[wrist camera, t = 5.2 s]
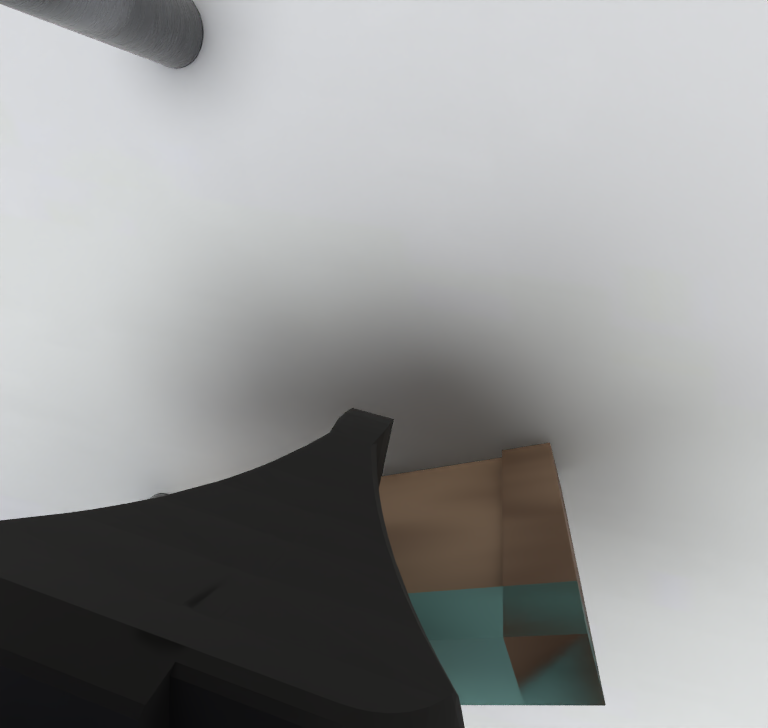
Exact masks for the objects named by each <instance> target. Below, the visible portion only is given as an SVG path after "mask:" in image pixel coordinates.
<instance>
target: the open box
mask: <svg viewBox="0 0 768 728" xmlns="http://www.w3.org/2000/svg"><path fill="white" fill-rule="evenodd" d="M379 495H380V501H381V507H382V512H383V517H384V522H385V526H386V530H387V534H388V538H389V541H390V544H391V548H392V551H393V555H394V558H395V561H396V564H397V566H398V569H399V571H400V574H401V577H402V579H403V582H404V585H405V587H406V590H407V593H408V595H409V598H410V600H411V603H412V605H413V607H414V610H415V612H416V614H417V616H418V618H419V621H420V623H421V625H422V627H423V629H424V631H425V634H426V636H427V638H428V640H429V642H430V644H431V646H432V648H433V649H434V651H435V653H436V655H437V657H438V659H439V661H440V663H441V665H442V667H443V669H444V670H445V672H446V674H447V676H448V678H449V679H450V681H451V683H452V685H453V687H454V688H455V690H456V692H457V694H458V696H459V700H460V705H605V700H604V696H603V691H602V686H601V681H600V676H599V671H598V666H597V661H596V656H595V651H594V646H593V642H592V637H591V632H590V627H589V622H588V617H587V612H586V607H585V602H584V597H583V593H582V588H581V583H580V578H579V573H578V568H577V563H576V558H575V553H574V548H573V543H572V539H571V534H570V529H569V524H568V519H567V514H566V509H565V504H564V499H563V494H562V490H561V485H560V481H559V477H558V473H557V469H556V465H555V461H554V457H553V453H552V449H551V445H550V443H544V444H538V445H532V446H526V447H520V448H514V449H507V450H502V457H501V458H495V459H489V460H482V461H476V462H470V463H463V464H457V465H451V466H445V467H438V468H432V469H426V470H419V471H413V472H407V473H400V474H394V475H388V476H382V477H381V480H380V485H379Z"/></svg>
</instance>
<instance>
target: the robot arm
mask: <svg viewBox="0 0 768 728" xmlns="http://www.w3.org/2000/svg"><path fill="white" fill-rule="evenodd" d="M393 420H394V419H391V418H387V417H383V416H380V415H376V414H372V413H369V412H365V411H362V410H358V409H354V408H352V409H350V410H349V411H347V412H345V413H344V414H343V415H342V416H341V417H340V418H339V419H338V420H337V422H336V424H335V425H334V427H333V428H332V430H331V431H330V433H328V434H327V435H325V436H323V437H321V438H319V439H317V440H316V441H314V442H312V443H310V444H308V445H307V446H305V447H302V448H300V449H298V450H296V451H294V452H292V453H290V454H288V455H286V456H283V457H281V458H279V459H277V460H275V461H273V462H270V463H268V464H266V465H263V466H261V467H258V468H255V469H253V470H250V471H247V472H244V473H242V474H239V475H236V476H233V477H230V478H227V479H224V480H221V481H218V482H214V483H211V484H207V485H203V486H199V487H196V488H192V489H188V490H184V491H181V492H177V493H173V494H169V495H166V496H161V497H157V498H152V499H147V500H142V501H137V502H132V503H127V504H121V505H116V506H110V507H104V508H98V509H92V510H85V511H79V512H72V513H63V514H54V515H45V516H37V517H28V518H19V519H10V520H1V521H0V728H465V727H464V722H463V716H462V710H461V705H460V700H459V696H458V694H457V692H456V690H455V688H454V687H453V685H452V683H451V681H450V679H449V678H448V676H447V674H446V672H445V670H444V669H443V667H442V665H441V663H440V661H439V659H438V657H437V655H436V653H435V651H434V649H433V648H432V646H431V644H430V642H429V640H428V638H427V636H426V634H425V631H424V629H423V627H422V625H421V623H420V621H419V618H418V616H417V614H416V612H415V610H414V607H413V605H412V603H411V600H410V598H409V595H408V593H407V590H406V587H405V585H404V582H403V579H402V577H401V574H400V571H399V569H398V566H397V564H396V561H395V558H394V555H393V551H392V548H391V544H390V541H389V538H388V534H387V530H386V526H385V522H384V517H383V512H382V507H381V501H380V495H379V485H380V480H381V476H382V471H383V466H384V462H385V457H386V452H387V448H388V443H389V438H390V434H391V429H392V424H393Z"/></svg>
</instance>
